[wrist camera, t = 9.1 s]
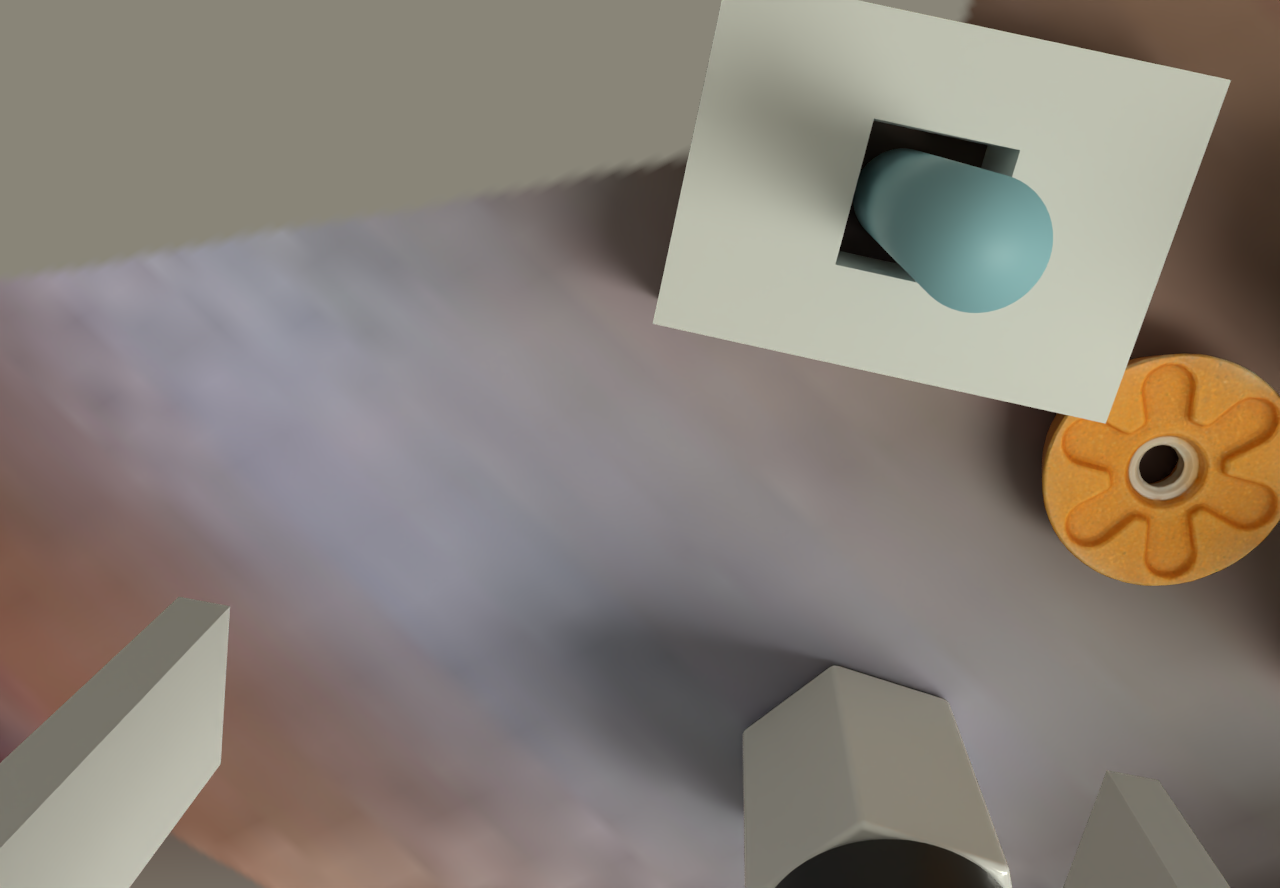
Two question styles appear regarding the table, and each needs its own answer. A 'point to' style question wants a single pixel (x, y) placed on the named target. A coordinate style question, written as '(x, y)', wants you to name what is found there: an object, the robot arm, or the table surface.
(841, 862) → the jar
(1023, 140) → the socket block
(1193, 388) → the colourful stacking toy
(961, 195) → the peg
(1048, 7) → the table surface
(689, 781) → the table surface
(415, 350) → the table surface
